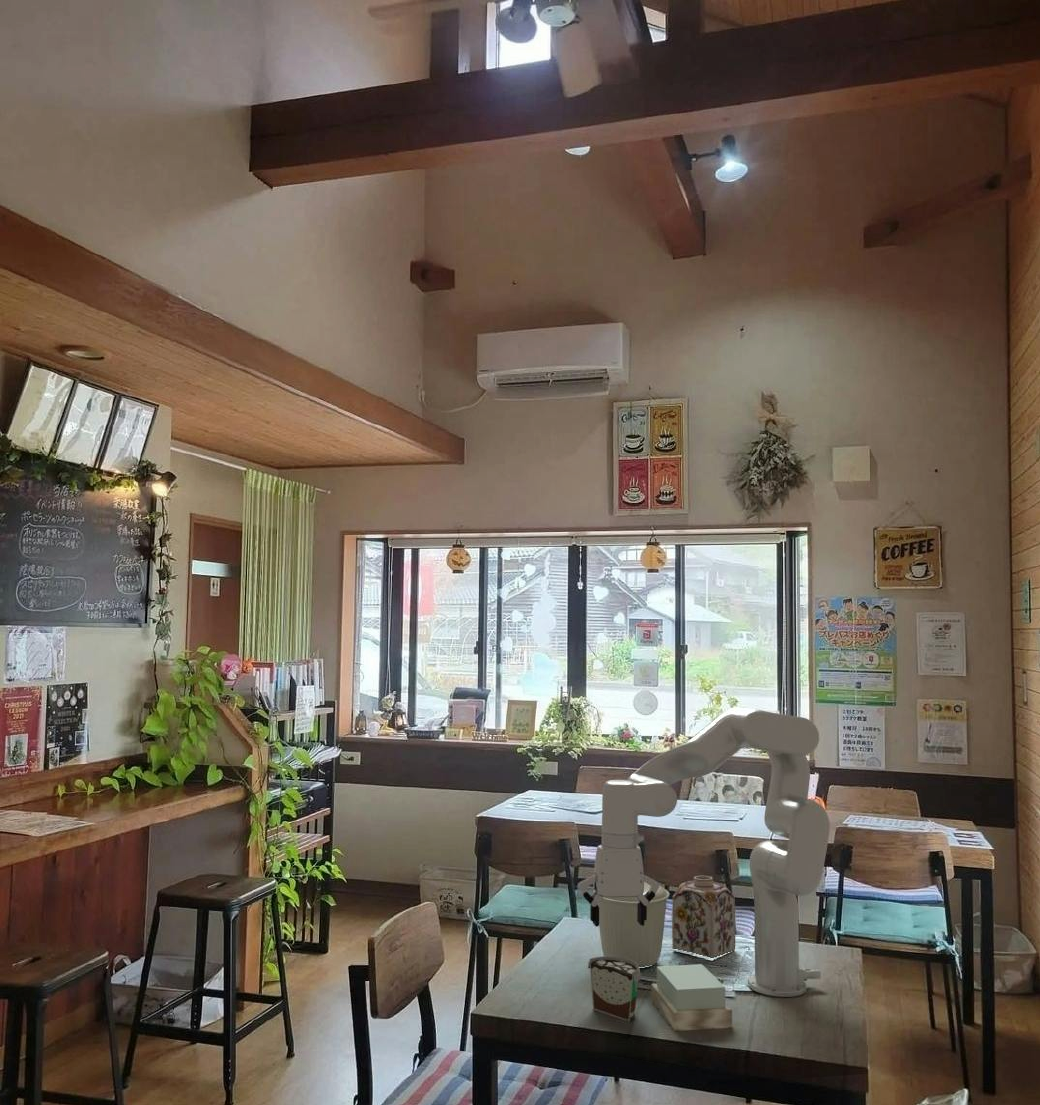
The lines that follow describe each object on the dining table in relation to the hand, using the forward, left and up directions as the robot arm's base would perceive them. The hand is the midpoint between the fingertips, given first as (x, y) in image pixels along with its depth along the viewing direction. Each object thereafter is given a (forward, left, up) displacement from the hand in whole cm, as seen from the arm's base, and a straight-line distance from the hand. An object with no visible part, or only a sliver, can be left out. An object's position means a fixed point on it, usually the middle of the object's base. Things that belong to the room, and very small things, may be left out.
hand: (618, 924), depth 205 cm
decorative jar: (-30, -35, -18) cm, 50 cm away
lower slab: (-15, +3, -18) cm, 23 cm away
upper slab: (-14, +3, -14) cm, 20 cm away
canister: (-10, -29, -18) cm, 36 cm away
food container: (0, 0, -18) cm, 18 cm away
